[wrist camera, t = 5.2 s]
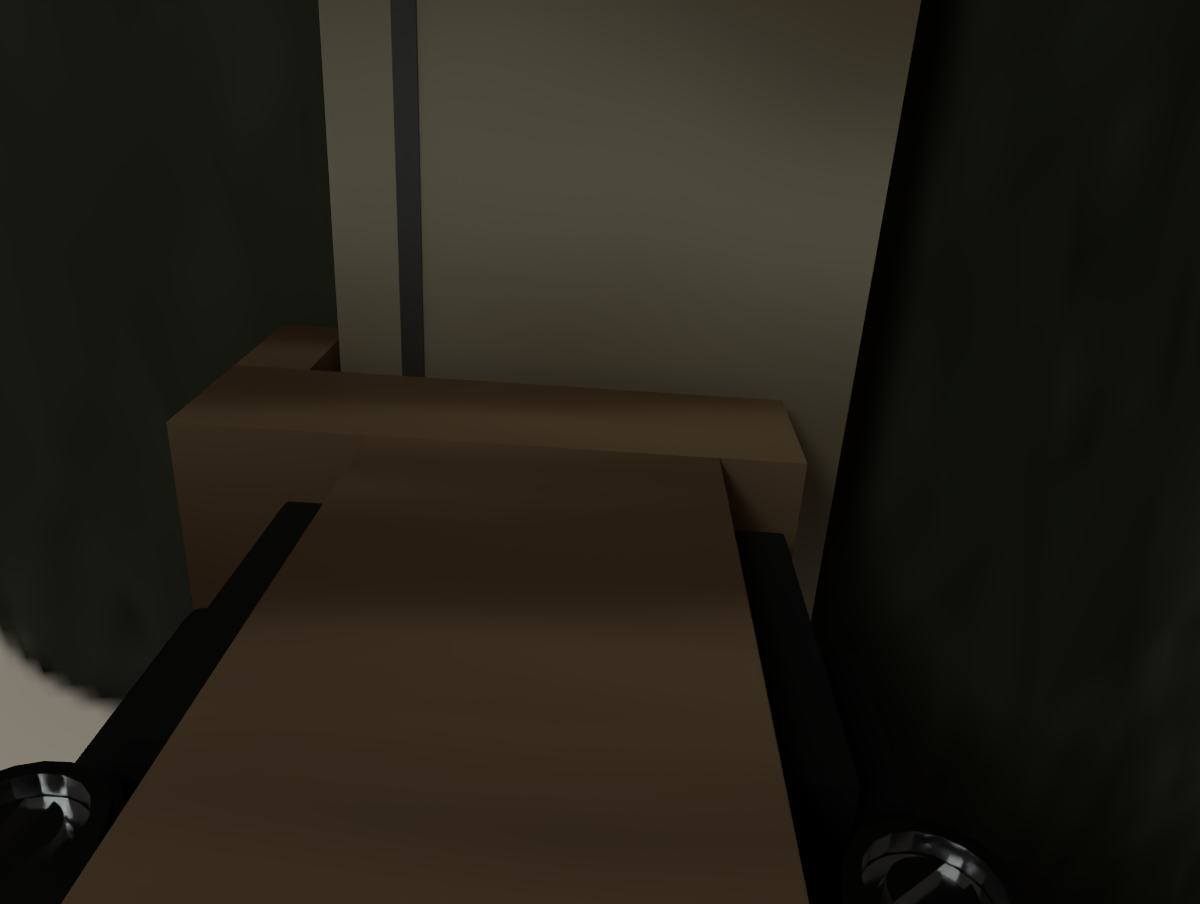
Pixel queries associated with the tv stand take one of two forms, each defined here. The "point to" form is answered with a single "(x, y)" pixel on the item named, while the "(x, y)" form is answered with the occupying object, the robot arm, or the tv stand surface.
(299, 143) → the tv stand surface
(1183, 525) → the tv stand surface
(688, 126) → the board
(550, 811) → the brown slider knob
